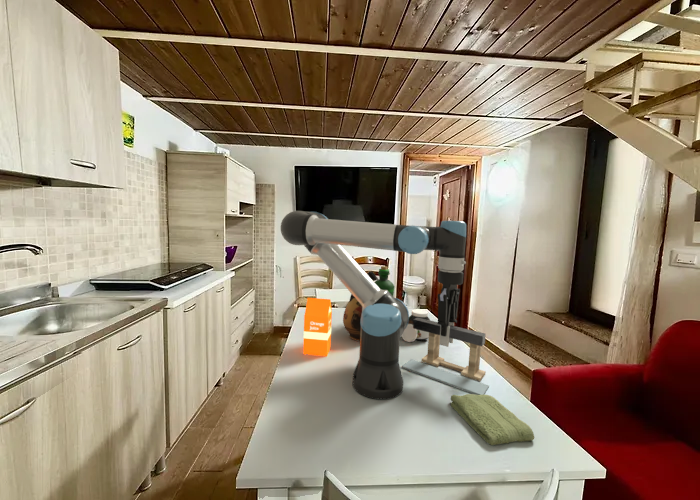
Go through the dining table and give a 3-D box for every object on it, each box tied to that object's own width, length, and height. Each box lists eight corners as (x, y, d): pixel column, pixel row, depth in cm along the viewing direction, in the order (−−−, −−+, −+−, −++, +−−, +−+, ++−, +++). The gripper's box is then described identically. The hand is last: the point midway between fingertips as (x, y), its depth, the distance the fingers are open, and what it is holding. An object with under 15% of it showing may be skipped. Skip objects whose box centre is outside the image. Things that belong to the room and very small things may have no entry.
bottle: (371, 319, 152) (373, 264, 150) (392, 321, 151) (395, 265, 148) (369, 326, 142) (372, 267, 139) (392, 328, 140) (395, 268, 138)
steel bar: (482, 346, 88) (482, 336, 88) (413, 328, 102) (413, 319, 101) (484, 343, 90) (485, 333, 90) (417, 326, 104) (417, 317, 104)
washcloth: (488, 399, 87) (488, 388, 86) (538, 443, 69) (539, 430, 69) (446, 403, 84) (447, 392, 84) (487, 450, 67) (488, 436, 66)
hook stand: (480, 381, 96) (483, 339, 94) (421, 361, 108) (423, 324, 107) (485, 374, 100) (488, 334, 99) (428, 356, 112) (430, 320, 111)
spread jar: (430, 336, 133) (431, 310, 132) (430, 346, 122) (432, 318, 121) (402, 332, 136) (404, 307, 135) (400, 342, 125) (401, 314, 124)
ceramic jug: (381, 333, 134) (384, 266, 131) (375, 346, 119) (379, 271, 116) (344, 328, 138) (346, 263, 135) (334, 341, 123) (336, 268, 120)
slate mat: (482, 397, 87) (482, 395, 87) (401, 367, 103) (401, 365, 102) (488, 387, 92) (489, 385, 92) (411, 360, 108) (411, 359, 108)
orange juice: (326, 356, 109) (328, 302, 107) (302, 354, 110) (304, 300, 108) (330, 347, 116) (332, 296, 115) (308, 345, 117) (309, 295, 116)
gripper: (453, 275, 86) (448, 355, 88) (471, 269, 98) (466, 339, 100) (428, 271, 90) (424, 348, 92) (448, 266, 103) (444, 333, 105)
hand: (446, 343), depth 96 cm, fingers closed on steel bar, 3 cm apart
